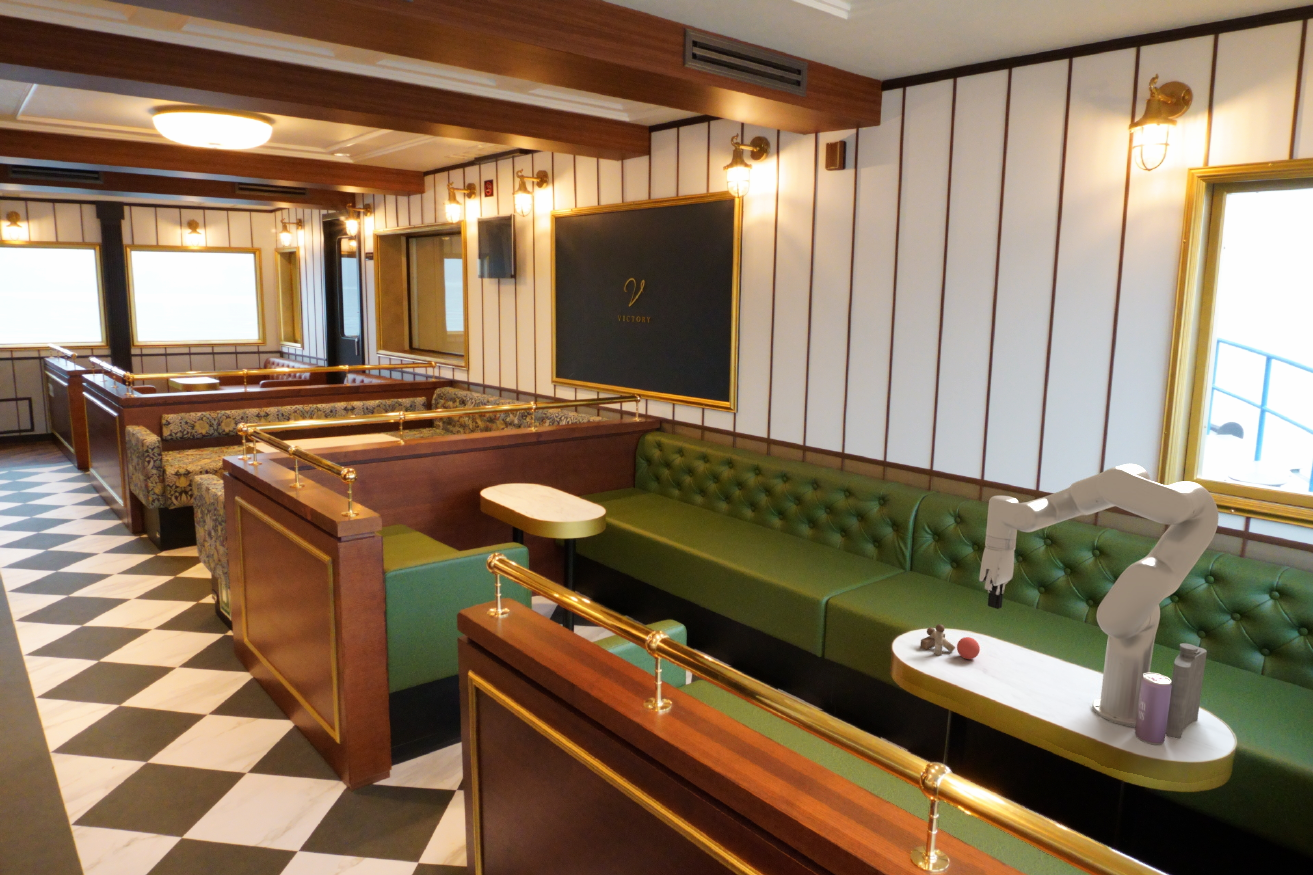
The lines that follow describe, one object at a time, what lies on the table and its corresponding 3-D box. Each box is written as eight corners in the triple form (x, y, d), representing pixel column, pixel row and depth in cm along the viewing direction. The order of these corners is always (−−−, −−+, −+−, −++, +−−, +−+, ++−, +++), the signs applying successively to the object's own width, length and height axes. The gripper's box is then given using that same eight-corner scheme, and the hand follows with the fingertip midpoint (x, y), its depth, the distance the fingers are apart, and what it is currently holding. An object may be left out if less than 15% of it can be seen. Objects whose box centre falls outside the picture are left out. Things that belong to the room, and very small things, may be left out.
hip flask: (1178, 739, 188) (1189, 658, 184) (1158, 732, 190) (1169, 652, 187) (1199, 717, 198) (1209, 639, 195) (1180, 711, 201) (1190, 634, 198)
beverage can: (1170, 746, 185) (1178, 684, 182) (1143, 745, 185) (1151, 683, 182) (1154, 732, 191) (1162, 672, 188) (1129, 731, 191) (1136, 671, 188)
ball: (971, 632, 232) (976, 653, 232) (951, 637, 232) (955, 657, 232) (980, 637, 226) (985, 658, 226) (959, 642, 226) (964, 663, 226)
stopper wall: (944, 641, 240) (945, 633, 240) (926, 650, 234) (927, 641, 234) (938, 639, 242) (939, 631, 241) (920, 647, 236) (920, 639, 235)
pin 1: (942, 652, 232) (944, 623, 231) (942, 656, 230) (945, 626, 229) (933, 651, 233) (935, 622, 232) (933, 655, 231) (936, 625, 229)
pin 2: (956, 646, 233) (931, 625, 238) (954, 646, 231) (929, 625, 236) (951, 652, 234) (926, 632, 239) (949, 653, 232) (924, 631, 237)
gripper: (1001, 534, 226) (995, 597, 229) (973, 543, 217) (967, 608, 220) (1027, 540, 221) (1021, 604, 224) (1000, 550, 211) (993, 617, 214)
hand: (994, 606), depth 222 cm, fingers closed
